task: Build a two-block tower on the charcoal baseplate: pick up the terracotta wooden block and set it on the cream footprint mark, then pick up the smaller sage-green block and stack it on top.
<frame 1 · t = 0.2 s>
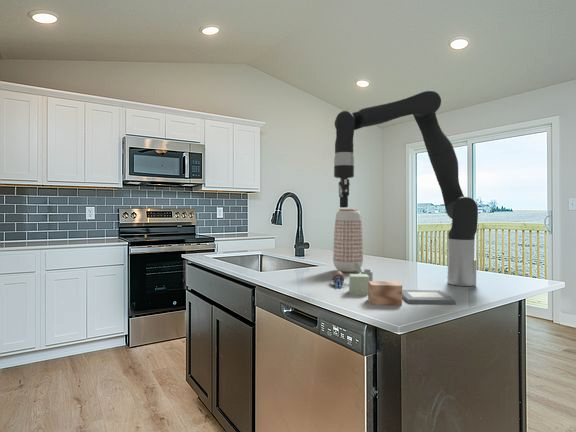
hand: (343, 207, 149), 29 cm above the worktop, tool pointing down, fingers open, 8 cm apart
base block: (384, 302, 118), on the worktop
figurine: (338, 286, 144), on the worktop
patterned vase: (347, 271, 176), on the worktop
lighter: (362, 283, 150), on the worktop
baseplate: (424, 298, 124), on the worktop
top block: (358, 292, 132), on the worktop
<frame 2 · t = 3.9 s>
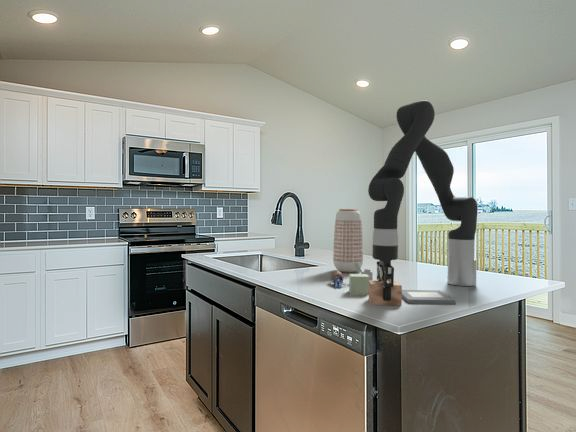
hand: (384, 297, 118), 1 cm above the worktop, tool pointing down, fingers closed on base block, 6 cm apart
base block: (384, 302, 118), on the worktop, touching gripper
everything else where it was.
when the fingers open (4 cm above the worktop, at t = 9.6 s): base block drops 1 cm, resting on baseplate.
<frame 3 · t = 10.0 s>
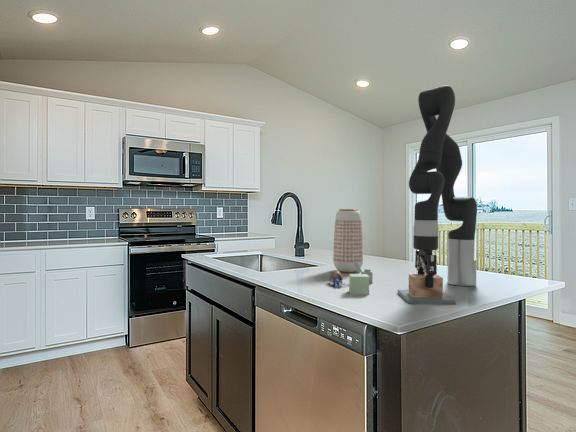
hand: (425, 285, 124), 4 cm above the worktop, tool pointing down, fingers open, 8 cm apart
base block: (425, 294, 124), point 1 cm above the worktop, touching baseplate
everything else where it was.
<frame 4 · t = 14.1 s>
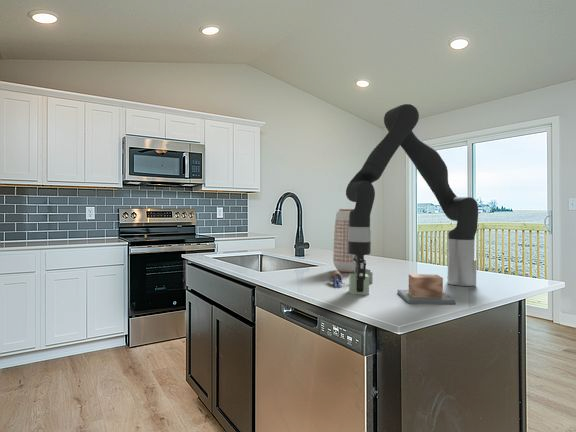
hand: (358, 289, 132), 1 cm above the worktop, tool pointing down, fingers closed on top block, 5 cm apart
top block: (358, 292, 132), on the worktop, touching gripper
when the fingers open (9 cm above the worktop, at t = 19.6 s): top block stays where it is, resting on base block.
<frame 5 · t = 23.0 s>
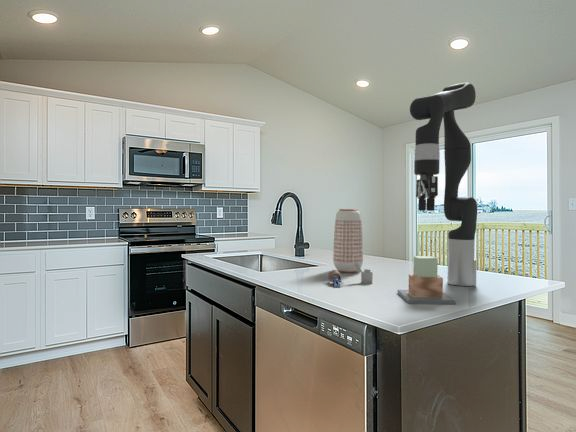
hand: (426, 210, 123), 28 cm above the worktop, tool pointing down, fingers open, 8 cm apart
base block: (425, 294, 124), point 1 cm above the worktop, touching baseplate, top block
top block: (425, 275, 124), point 7 cm above the worktop, touching base block
at the end: base block 0.1 cm off-centre on the baseplate, point 1.2 cm above the baseplate's base; top block 0.1 cm off-centre on the base block, point 6.0 cm above the base block's base; top block tilted 0° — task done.
